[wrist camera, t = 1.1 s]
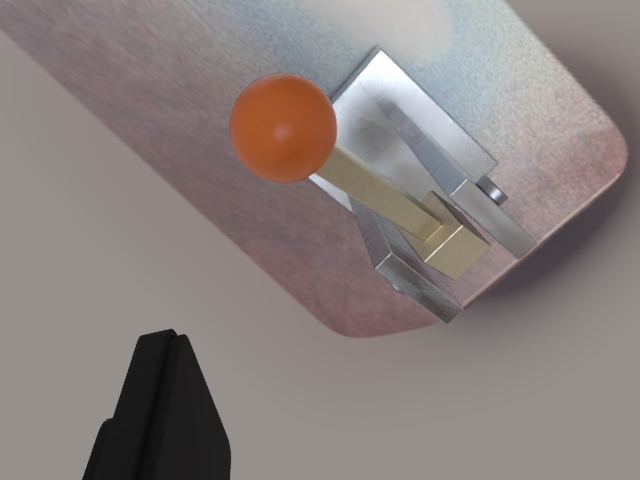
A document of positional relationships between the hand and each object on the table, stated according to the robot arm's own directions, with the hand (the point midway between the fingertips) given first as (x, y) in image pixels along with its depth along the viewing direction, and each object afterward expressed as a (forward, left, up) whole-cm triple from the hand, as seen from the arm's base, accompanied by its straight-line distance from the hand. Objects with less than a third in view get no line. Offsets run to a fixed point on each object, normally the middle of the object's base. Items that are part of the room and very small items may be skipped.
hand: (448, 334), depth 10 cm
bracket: (+2, +6, -24) cm, 24 cm away
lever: (+1, +1, -12) cm, 12 cm away
